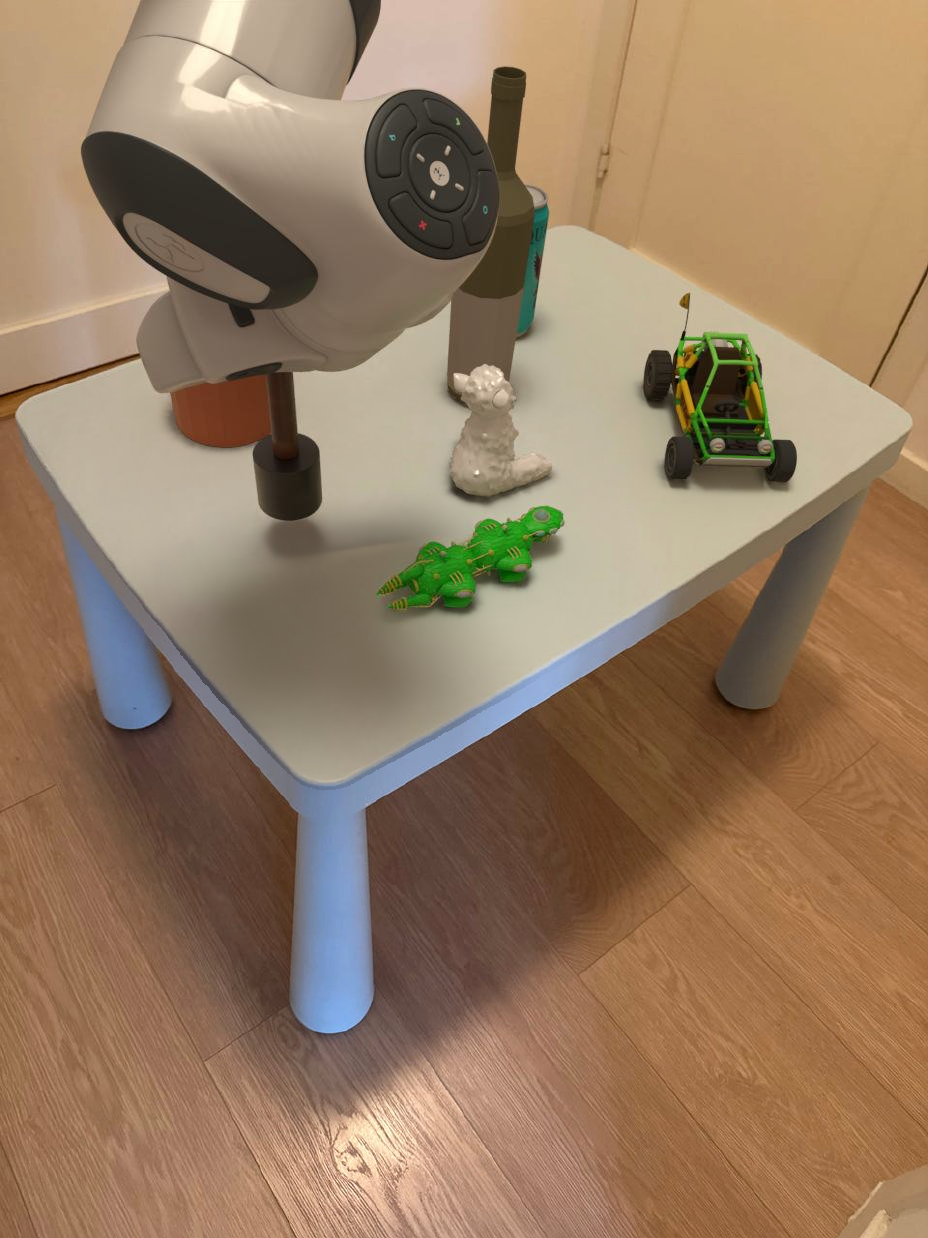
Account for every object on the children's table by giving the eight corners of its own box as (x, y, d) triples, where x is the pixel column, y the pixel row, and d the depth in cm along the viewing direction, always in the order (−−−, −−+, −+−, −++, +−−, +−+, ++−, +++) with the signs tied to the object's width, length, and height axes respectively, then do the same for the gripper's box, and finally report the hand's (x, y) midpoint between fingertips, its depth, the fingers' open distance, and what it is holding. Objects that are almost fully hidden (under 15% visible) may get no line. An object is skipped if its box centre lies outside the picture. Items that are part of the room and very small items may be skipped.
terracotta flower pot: (180, 453, 85) (160, 349, 77) (170, 390, 92) (150, 287, 83) (289, 440, 88) (280, 337, 80) (271, 379, 94) (262, 278, 86)
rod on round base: (263, 525, 74) (228, 236, 56) (253, 483, 77) (217, 197, 59) (327, 516, 75) (313, 230, 57) (315, 475, 79) (298, 192, 60)
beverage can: (532, 343, 102) (552, 209, 91) (480, 339, 102) (494, 204, 90) (530, 315, 106) (550, 183, 94) (481, 311, 105) (494, 178, 94)
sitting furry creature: (553, 474, 88) (574, 365, 79) (505, 523, 83) (521, 412, 74) (470, 434, 91) (482, 325, 82) (419, 479, 86) (425, 368, 77)
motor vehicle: (669, 489, 87) (700, 395, 79) (635, 370, 100) (658, 280, 92) (787, 492, 88) (828, 400, 81) (738, 374, 101) (769, 285, 93)
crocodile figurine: (579, 560, 80) (588, 523, 77) (403, 641, 73) (404, 604, 69) (533, 514, 84) (540, 478, 80) (360, 588, 76) (360, 550, 73)
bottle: (434, 404, 93) (455, 79, 71) (451, 366, 98) (476, 50, 75) (502, 418, 93) (545, 95, 70) (516, 380, 97) (561, 64, 75)
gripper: (463, 202, 57) (386, 275, 70) (139, 272, 49) (117, 340, 62) (496, 303, 58) (413, 357, 71) (183, 387, 50) (152, 431, 63)
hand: (273, 350), depth 66 cm, fingers closed on rod on round base
